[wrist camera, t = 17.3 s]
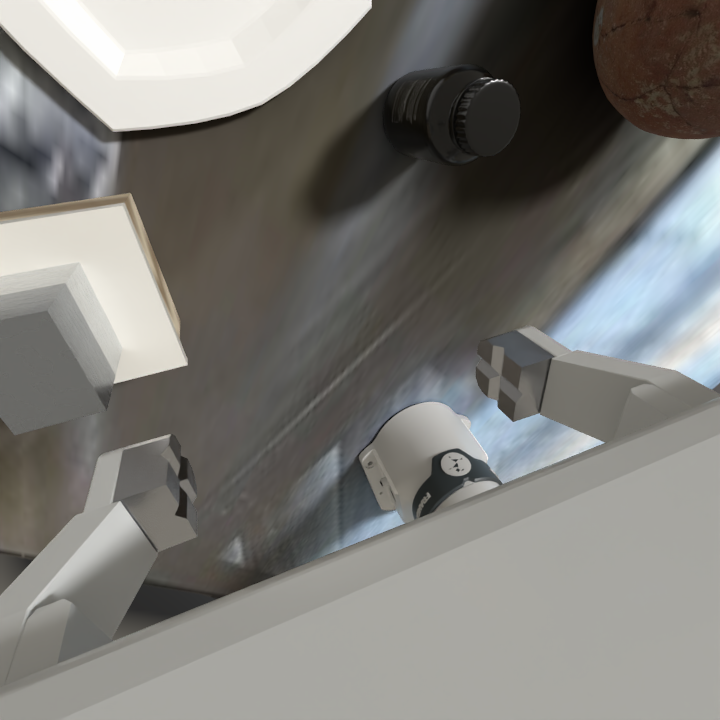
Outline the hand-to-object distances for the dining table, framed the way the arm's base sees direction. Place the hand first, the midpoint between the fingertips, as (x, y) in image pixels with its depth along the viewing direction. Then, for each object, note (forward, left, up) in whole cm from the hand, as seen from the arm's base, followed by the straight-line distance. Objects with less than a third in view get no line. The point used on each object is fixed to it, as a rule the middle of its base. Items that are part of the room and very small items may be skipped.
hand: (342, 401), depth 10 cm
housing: (-5, +14, -24) cm, 28 cm away
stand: (-5, +14, -32) cm, 35 cm away
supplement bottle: (+4, -18, -32) cm, 37 cm away
